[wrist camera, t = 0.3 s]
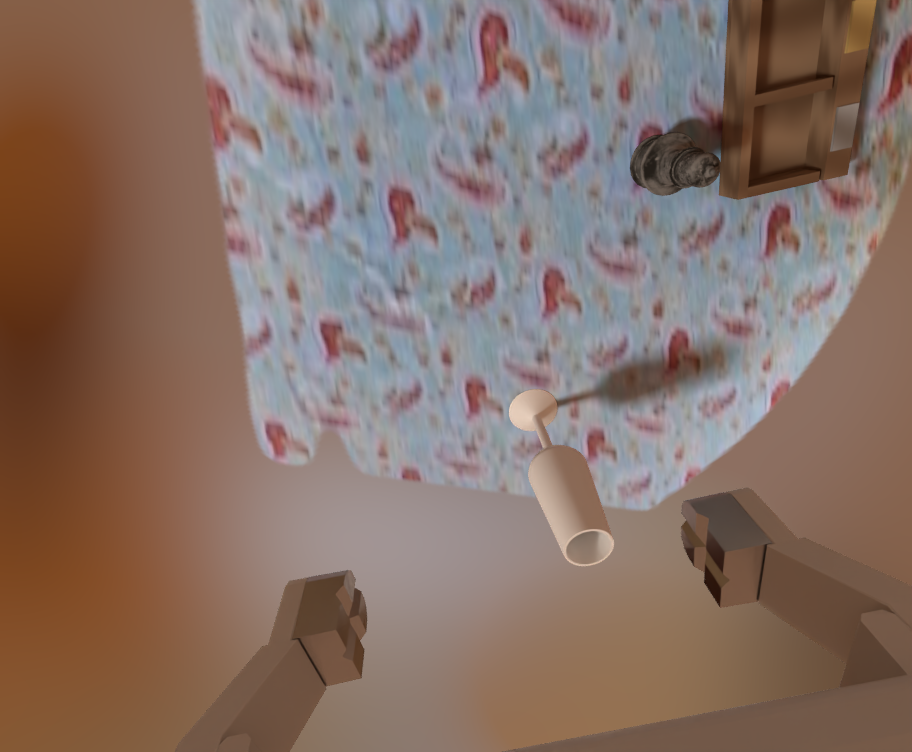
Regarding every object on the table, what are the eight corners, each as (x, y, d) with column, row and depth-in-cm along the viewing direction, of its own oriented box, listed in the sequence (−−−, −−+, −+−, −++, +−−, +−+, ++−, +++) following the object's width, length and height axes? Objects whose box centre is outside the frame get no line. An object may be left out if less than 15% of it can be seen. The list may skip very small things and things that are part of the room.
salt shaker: (691, 163, 52) (761, 174, 41) (645, 203, 54) (701, 222, 43) (663, 118, 50) (730, 117, 39) (616, 160, 51) (668, 170, 41)
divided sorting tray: (728, -3, 45) (754, -13, 42) (850, -32, 45) (886, -45, 42) (719, 195, 54) (739, 200, 50) (821, 171, 53) (849, 174, 50)
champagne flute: (513, 435, 67) (557, 579, 46) (504, 395, 64) (547, 530, 43) (560, 424, 67) (627, 564, 46) (554, 383, 64) (622, 513, 42)
